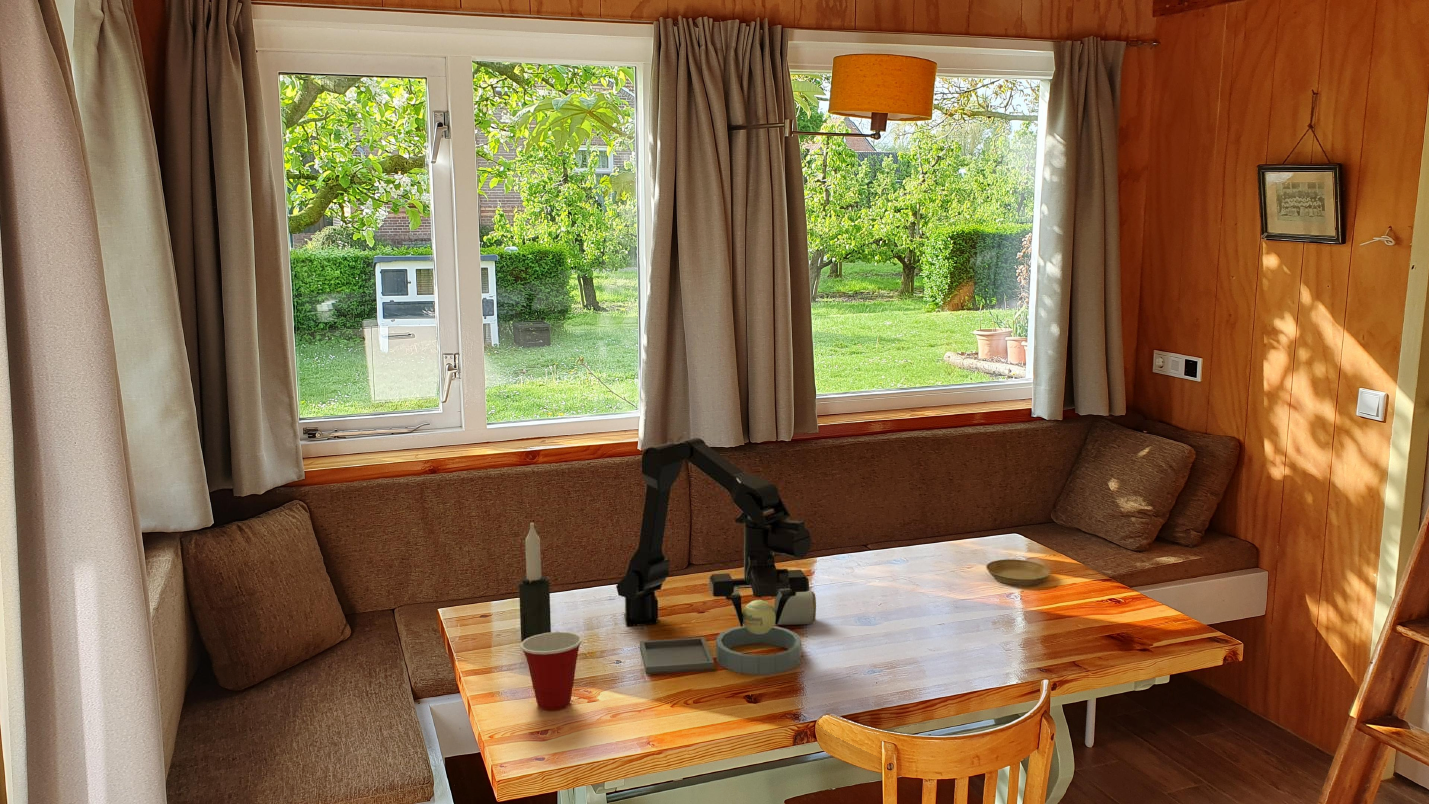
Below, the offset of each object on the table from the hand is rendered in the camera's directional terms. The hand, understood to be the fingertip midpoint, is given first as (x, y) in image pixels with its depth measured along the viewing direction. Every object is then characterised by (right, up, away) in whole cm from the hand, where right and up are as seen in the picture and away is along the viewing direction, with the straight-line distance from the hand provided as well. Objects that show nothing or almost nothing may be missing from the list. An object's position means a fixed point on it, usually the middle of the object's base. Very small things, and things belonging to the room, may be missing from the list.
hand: (758, 625), depth 213 cm
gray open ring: (0, -7, +1) cm, 7 cm away
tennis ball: (0, -1, 0) cm, 1 cm away
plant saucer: (+63, +1, +47) cm, 79 cm away
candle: (-45, -6, +10) cm, 46 cm away
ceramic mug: (+8, -4, +21) cm, 22 cm away
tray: (-16, -7, +1) cm, 17 cm away
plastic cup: (-37, -10, -19) cm, 43 cm away
